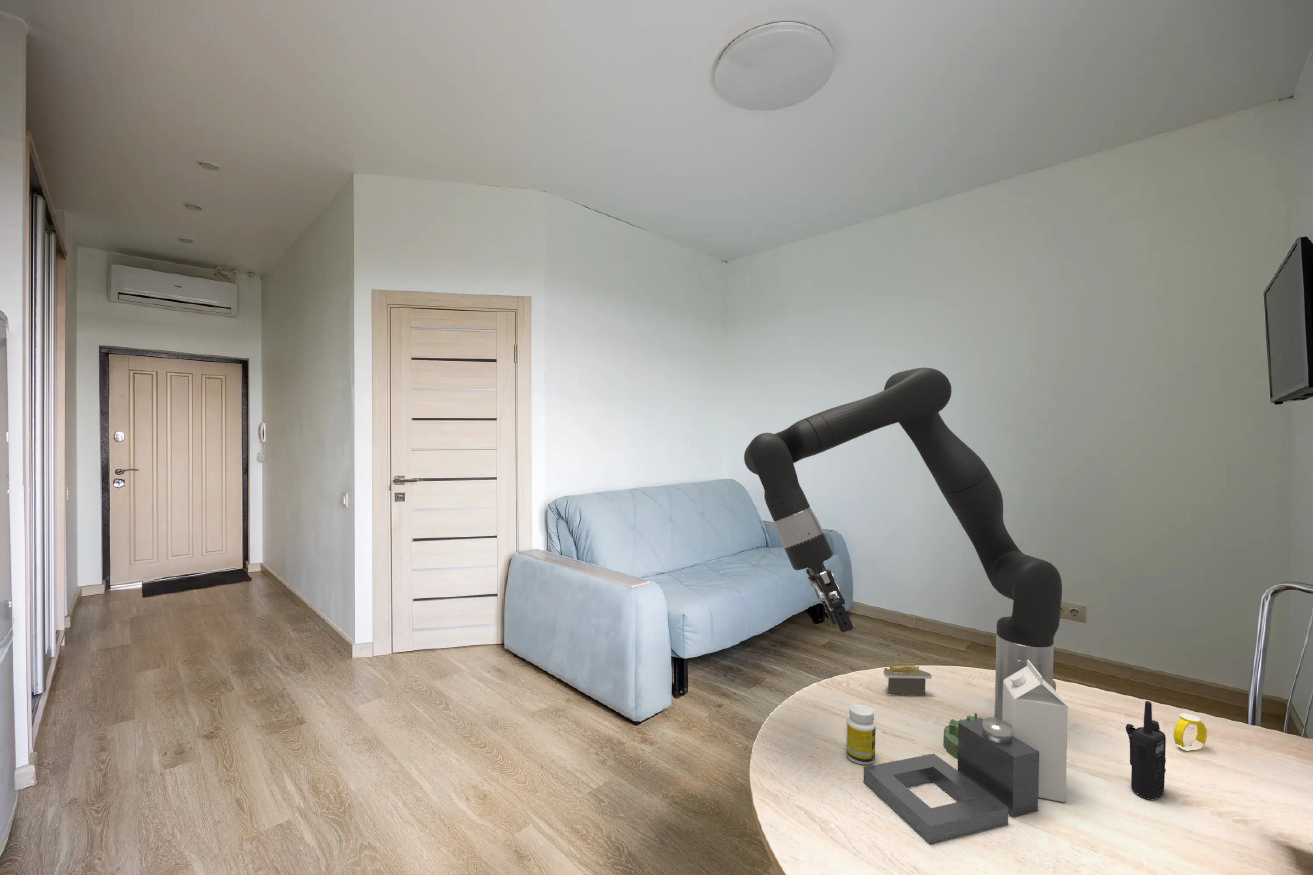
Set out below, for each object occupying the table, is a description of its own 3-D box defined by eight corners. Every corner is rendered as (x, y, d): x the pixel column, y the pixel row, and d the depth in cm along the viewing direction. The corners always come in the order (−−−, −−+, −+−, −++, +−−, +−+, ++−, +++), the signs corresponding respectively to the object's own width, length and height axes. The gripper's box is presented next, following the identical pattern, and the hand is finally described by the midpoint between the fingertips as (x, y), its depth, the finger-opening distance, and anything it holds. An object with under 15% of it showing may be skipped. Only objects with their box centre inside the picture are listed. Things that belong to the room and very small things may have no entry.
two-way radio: (1152, 804, 85) (1154, 707, 85) (1117, 787, 89) (1119, 694, 89) (1168, 793, 88) (1171, 699, 88) (1134, 778, 92) (1136, 687, 92)
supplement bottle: (877, 767, 94) (878, 717, 94) (848, 763, 95) (849, 714, 95) (872, 751, 98) (873, 704, 98) (844, 748, 99) (845, 701, 99)
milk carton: (1050, 776, 92) (1052, 662, 92) (1066, 804, 85) (1068, 680, 85) (1000, 767, 94) (1003, 656, 94) (1012, 793, 87) (1015, 673, 87)
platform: (853, 681, 127) (854, 653, 127) (932, 683, 127) (933, 654, 127) (874, 707, 115) (874, 676, 115) (961, 709, 115) (961, 677, 115)
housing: (966, 761, 96) (967, 698, 96) (1044, 815, 82) (1046, 741, 82) (863, 782, 90) (864, 714, 89) (929, 844, 76) (931, 764, 76)
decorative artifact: (949, 763, 96) (1016, 774, 93) (950, 722, 95) (1017, 732, 93) (938, 733, 105) (998, 742, 102) (939, 696, 105) (999, 704, 102)
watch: (1186, 756, 99) (1185, 723, 99) (1169, 747, 102) (1168, 715, 101) (1212, 750, 100) (1211, 718, 100) (1194, 742, 103) (1193, 710, 103)
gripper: (829, 530, 92) (873, 625, 89) (816, 530, 106) (854, 612, 103) (787, 547, 93) (829, 642, 90) (780, 545, 107) (816, 627, 104)
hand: (842, 626), depth 96 cm, fingers open, 8 cm apart
